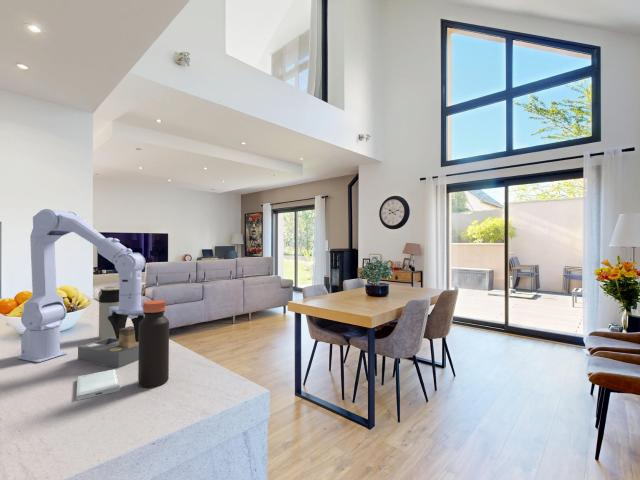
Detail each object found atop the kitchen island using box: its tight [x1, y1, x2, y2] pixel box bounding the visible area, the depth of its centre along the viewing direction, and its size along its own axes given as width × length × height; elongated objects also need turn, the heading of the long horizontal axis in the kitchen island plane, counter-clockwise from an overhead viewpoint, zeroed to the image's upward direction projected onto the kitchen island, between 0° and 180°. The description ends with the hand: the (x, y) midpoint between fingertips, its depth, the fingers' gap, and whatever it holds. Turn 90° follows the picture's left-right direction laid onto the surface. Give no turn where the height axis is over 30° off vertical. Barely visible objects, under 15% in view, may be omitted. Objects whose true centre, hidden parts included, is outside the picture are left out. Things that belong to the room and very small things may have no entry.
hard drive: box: [75, 369, 120, 402], centre depth 79 cm, size 2×8×12 cm
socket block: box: [77, 335, 139, 369], centre depth 98 cm, size 16×13×4 cm
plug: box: [119, 325, 139, 349], centre depth 97 cm, size 4×4×8 cm
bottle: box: [137, 299, 170, 389], centre depth 81 cm, size 7×7×20 cm
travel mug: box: [98, 285, 119, 340], centre depth 117 cm, size 8×8×18 cm
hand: (129, 339), depth 97 cm, fingers open, 7 cm apart
